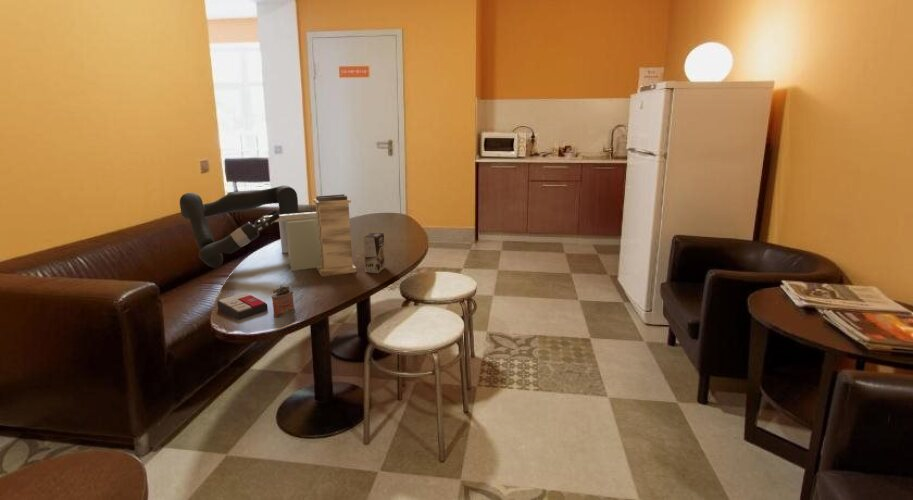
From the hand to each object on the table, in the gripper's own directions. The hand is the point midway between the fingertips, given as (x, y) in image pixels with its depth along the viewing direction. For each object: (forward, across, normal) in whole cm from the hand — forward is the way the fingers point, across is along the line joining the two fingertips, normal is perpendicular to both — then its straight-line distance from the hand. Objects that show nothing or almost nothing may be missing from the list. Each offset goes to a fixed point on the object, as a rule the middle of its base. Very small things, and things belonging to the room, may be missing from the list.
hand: (277, 213), depth 219 cm
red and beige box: (-29, +46, -13) cm, 56 cm away
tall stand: (+6, +14, -33) cm, 36 cm away
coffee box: (+20, +20, -41) cm, 50 cm away
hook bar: (+4, 0, -6) cm, 7 cm away
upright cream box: (-3, 0, -28) cm, 28 cm away
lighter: (-18, +56, -19) cm, 62 cm away
